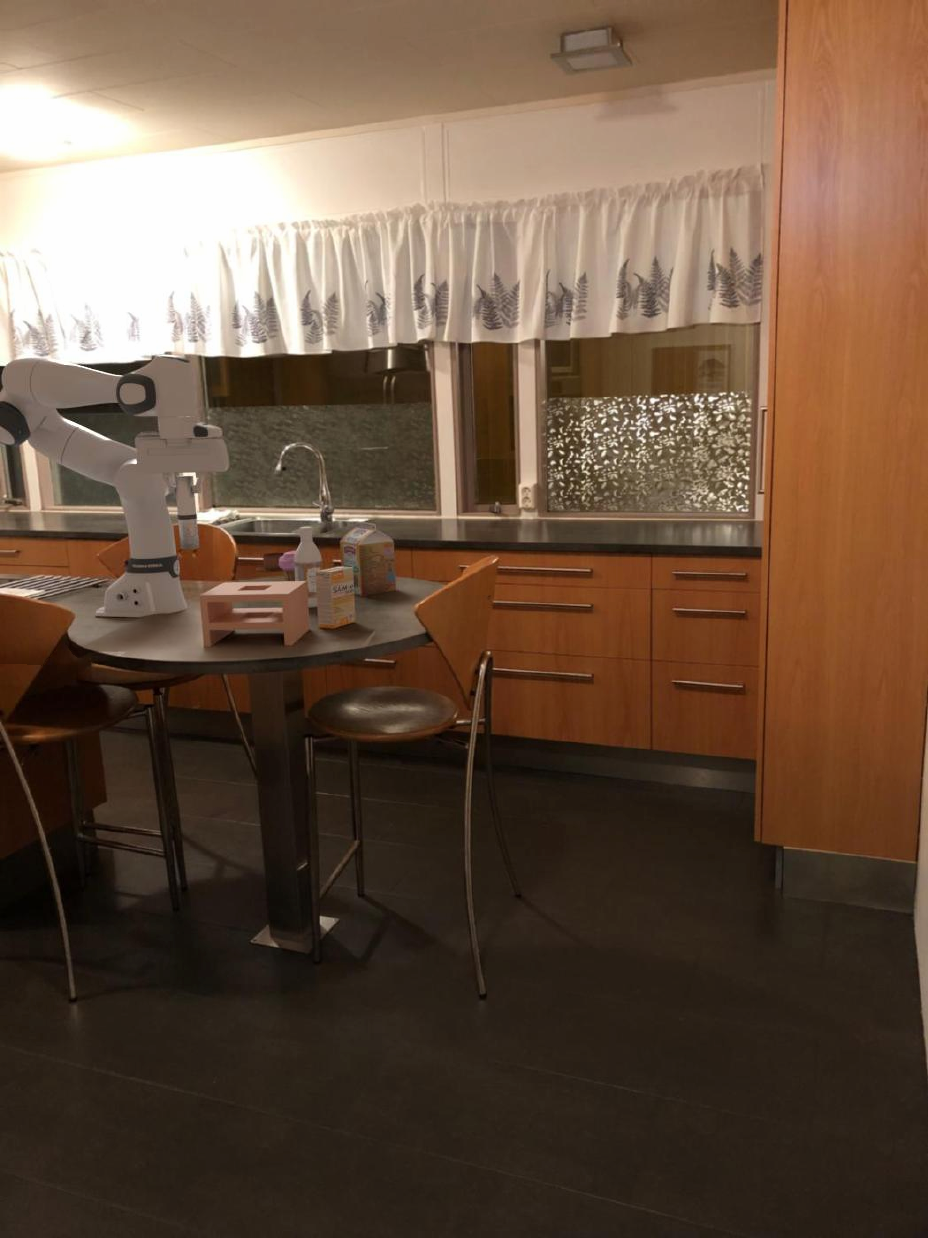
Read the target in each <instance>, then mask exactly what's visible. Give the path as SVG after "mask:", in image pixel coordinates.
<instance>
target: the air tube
mask: <svg viewBox="0 0 928 1238" xmlns="http://www.w3.org/2000/svg"><path fill="white" fill-rule="evenodd" d="M174 478H175V483H174V486H175V489H176V494H175V499H176V511H177V515H176V516H177V520H178V521H177V522H178V529H179V531H178V532H179V541H180V543H179V544H180V549H182V550H190V549H191V550H193V549H198V548H200V540H199V539H200V538H199V531H198V514H197V506H196V495H195V494H196V493H193V492H192V490H193V489H192V486H193V485H195V484H194V475H175V476H174Z"/></svg>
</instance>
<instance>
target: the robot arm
mask: <svg viewBox="0 0 928 1238" xmlns="http://www.w3.org/2000/svg"><path fill="white" fill-rule="evenodd" d="M1 384H2V388H1V390H0V444H2V445H6V446H9V447H19V446H21V445H22V444H24V443H25V442H26V441H27V442H28V445H30V447H31V448H32V449H34V450H35V451H37V452H38V453H40V455H43V456H44V457H46V458H48V459H50V460H51V461H52V462H55V463H57V464H59V465H61V466H63V467H65V468H67V469H69V470H70V471H71V470H72V471H73V472H75V473H78V474H80V475H82V476H84V477H86V478H89V479H91V480H93V481H97V482H101V483H102V484H103V483H104V484H106V485H110V486H112V487H114V488H115V490H116V492H117V494H118V495H119V500H120V505H121V508H122V511H123V515H124V518H125V522H126V527H127V533H128V540H129V541H128V543H129V550H130V552H129V553H130V556H129V558H127V559H126V560H124V561H123V562H121V564H122V565H121V567H124V568H125V570H124V571H125V572H124V573H123V574H122V575H121V576H120V577H119V578H117V579H116V580H115V581H114V582H113V583H112V584H111V585H109V586H108V588H106V591H105V593H104V599H103V602H104V603H103V606H102V607H99V608H98V609H96V610H95V616H96V617H115V618H116V617H117V618H122V617H123V618H124V617H125V618H142V617H146V616H151V615H157V614H174V613H178V612H182V611H185V610H187V609H188V604H187V603H186V600H185V596H184V594H183V590H182V586H181V582H180V580H181V579H180V573H181V571H180V561H179V556H178V554H177V552H176V542H175V541H176V539H175V528H174V523H173V521H172V519H171V515H170V512H169V509H168V504H167V499H166V497H167V496H168V495H176V489H175V478H174V476H176V475H175V474H186V473H187V474H188V473H191V474H192V473H195V478H197V480H196V482H195V484H194V485H193V486H192V489H193V490H192V492H193V493H195V494H201V493H202V484H203V482H204V481H205V478H206V473H219V472H220V473H221V472H222V473H223V472H227V471H228V469H229V468H230V459H229V457H230V456H229V453H228V448H227V444H226V442H225V441H224V439H223V438H221V437H222V436H223V429H222V428H221V427H219V426H216V425H213V424H208V423H206V422H202V421H200V414H199V409H198V407H197V400H198V388H197V380H196V374H195V369H194V366H193V363H192V361H190V360H189V358H187V357H184V356H181V355H174V354H173V355H172V354H165V353H161V354H156V355H155V356H154V357H153V359H152V360H151V361H150V362H149V363H147V364H146V365H145V366H142V367H140V368H139V369H136V370H133V371H131V372H128V373H124V374H123V375H119V374H117V375H116V374H114V373H113V374H112V373H108V372H105V371H100V370H97V369H92V368H90V367H87V366H83V365H79V364H75V363H71V362H69V361H64V360H60V359H56V358H46V357H26V358H24V357H23V358H18V359H17V358H16V359H14V360H10V361H9V362H8V363H7V364H6V365H4V368H3V369H2V372H1ZM112 403H113V404H115V403H118V405H119V407H120V409H121V410H122V411H123V412H124V413H125V414H128V415H132V416H135V417H157V426H158V430H156V431H155V430H153V431H141V432H140V433H138V434H137V435H136V436H135V439H134V445H135V446H134V447H132V446H130V445H128V444H124V443H122V442H119V441H115V440H114V439H111V438H109V437H107V436H104V435H103V434H100V433H99V432H96V431H94V430H91V429H90V428H87V427H85V426H83V425H81V424H79V423H76V422H74V421H71V420H69V419H67V418H65V417H63V415H61V414H60V413H59V411H58V410H57V409H69V408H70V409H72V408H79V407H84V406H86V407H87V406H94V405H100V404H102V405H103V404H112Z"/></svg>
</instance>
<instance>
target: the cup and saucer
mask: <svg viewBox="0 0 928 1238" xmlns="http://www.w3.org/2000/svg"><path fill="white" fill-rule="evenodd" d="M284 553H285V552H271V553H270V552H268V553H265V554H264V553H263V555H262V557H263V559H262V560H263V566H261V567H260V566H259V567H256V569H255V570H256V571H257V572H258V573H281V572H283V569H282V568H281V567H280V566H279V559H280V557H281V556H283V555H284ZM261 569H264V570H261Z"/></svg>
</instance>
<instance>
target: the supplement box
mask: <svg viewBox="0 0 928 1238" xmlns="http://www.w3.org/2000/svg"><path fill="white" fill-rule="evenodd" d="M315 574H316V591H317V607H316V609H317V622H318V623H317V624H318V626H317V627H319V628H323V629H337V628H341V627H343V626H346V625H350V624H353V623H356V604H355V603H356V602H355V601H356V600H355V594H354V579H353V567H341V566H335V567H330V568H325V569H323V570H320V571H315Z"/></svg>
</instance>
